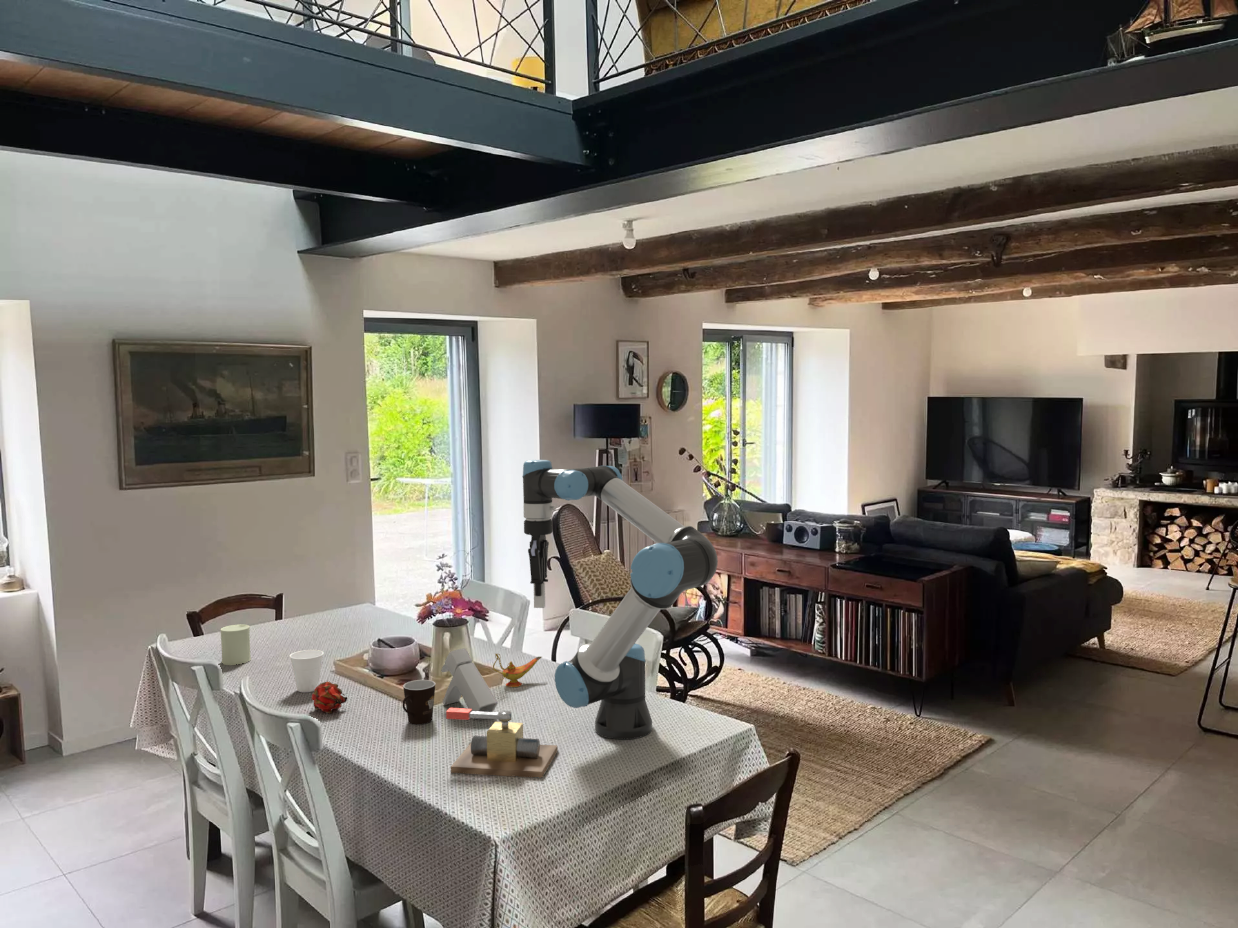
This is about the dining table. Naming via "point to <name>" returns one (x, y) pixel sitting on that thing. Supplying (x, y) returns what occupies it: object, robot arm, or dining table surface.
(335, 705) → the dragon fruit
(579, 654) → the robot arm
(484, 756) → the valve board
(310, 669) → the cup
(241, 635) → the can
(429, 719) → the coffee mug
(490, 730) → the ball valve
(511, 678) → the magic lamp
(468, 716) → the valve lever
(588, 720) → the dining table surface
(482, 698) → the grey a-frame
